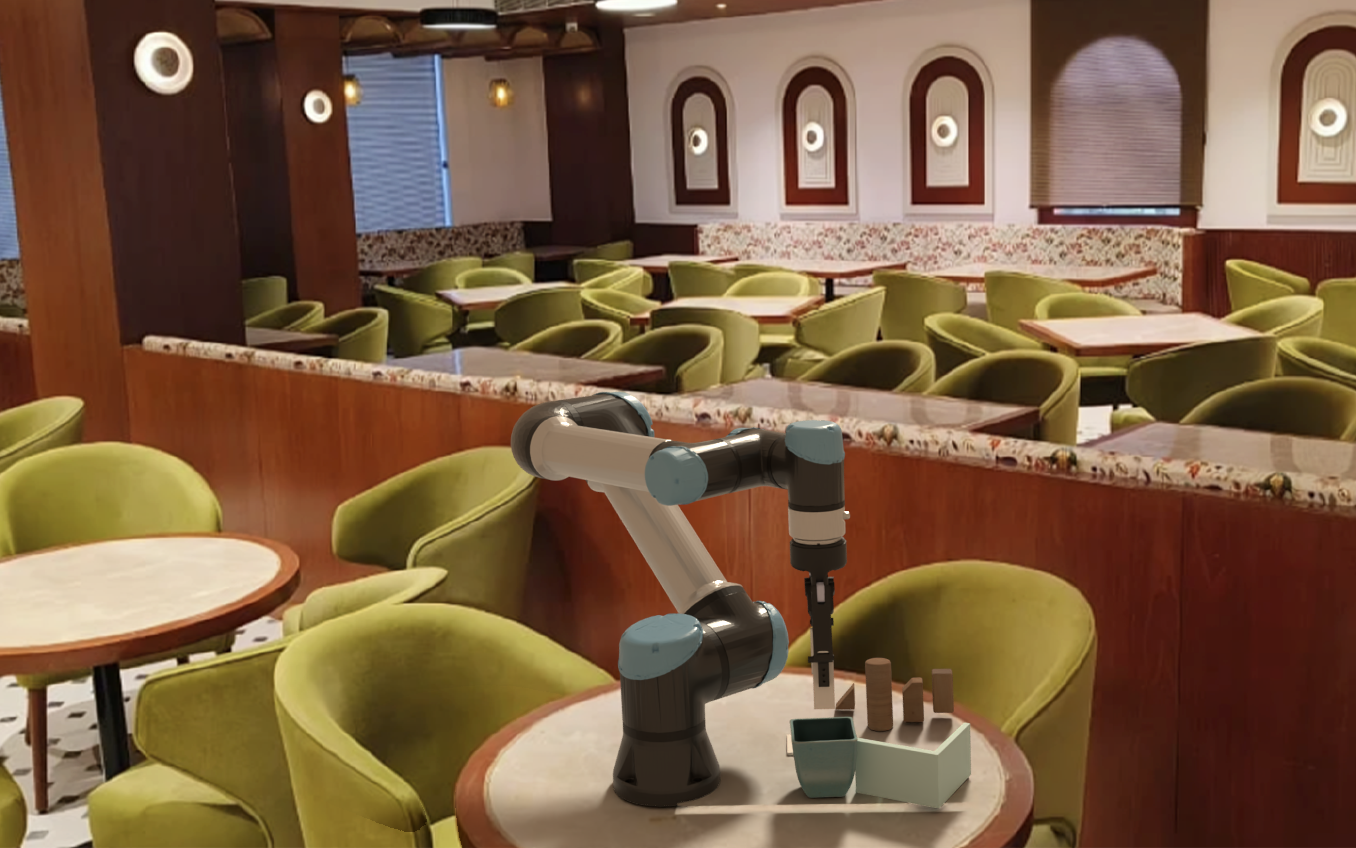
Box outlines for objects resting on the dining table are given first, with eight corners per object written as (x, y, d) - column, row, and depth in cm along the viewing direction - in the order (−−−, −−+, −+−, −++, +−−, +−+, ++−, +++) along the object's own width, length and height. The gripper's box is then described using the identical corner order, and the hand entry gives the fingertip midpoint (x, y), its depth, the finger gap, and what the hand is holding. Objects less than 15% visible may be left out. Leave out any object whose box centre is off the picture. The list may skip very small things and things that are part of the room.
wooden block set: (953, 714, 226) (950, 649, 225) (955, 731, 217) (952, 663, 216) (836, 715, 228) (833, 651, 228) (834, 732, 220) (831, 665, 219)
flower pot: (791, 778, 204) (789, 717, 203) (854, 776, 204) (852, 715, 202) (794, 805, 196) (791, 742, 194) (860, 803, 195) (858, 740, 194)
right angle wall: (971, 774, 203) (970, 723, 201) (938, 808, 193) (937, 755, 191) (891, 760, 209) (889, 710, 208) (855, 792, 199) (854, 740, 198)
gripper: (850, 561, 181) (855, 723, 185) (842, 515, 206) (846, 659, 209) (790, 562, 182) (796, 724, 185) (788, 516, 206) (794, 660, 210)
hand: (822, 690), depth 197 cm, fingers open, 13 cm apart
